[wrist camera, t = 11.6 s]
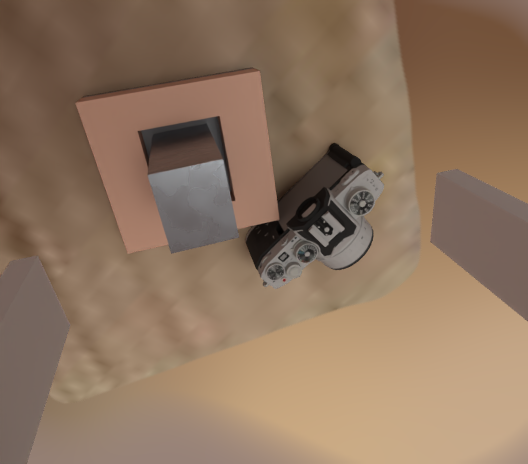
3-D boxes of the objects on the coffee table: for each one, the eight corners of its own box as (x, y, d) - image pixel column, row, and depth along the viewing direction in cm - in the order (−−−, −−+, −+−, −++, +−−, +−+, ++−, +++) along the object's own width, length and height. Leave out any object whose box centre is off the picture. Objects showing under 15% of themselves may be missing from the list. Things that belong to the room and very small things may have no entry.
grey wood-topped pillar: (152, 134, 36) (147, 175, 26) (206, 123, 37) (223, 159, 26) (169, 194, 39) (171, 253, 29) (219, 183, 40) (239, 237, 29)
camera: (282, 278, 48) (309, 333, 39) (228, 235, 43) (244, 286, 35) (380, 185, 45) (432, 222, 36) (332, 130, 41) (378, 157, 32)
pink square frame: (83, 96, 34) (75, 102, 31) (252, 67, 36) (259, 70, 33) (130, 237, 41) (127, 253, 38) (271, 206, 43) (279, 219, 40)
